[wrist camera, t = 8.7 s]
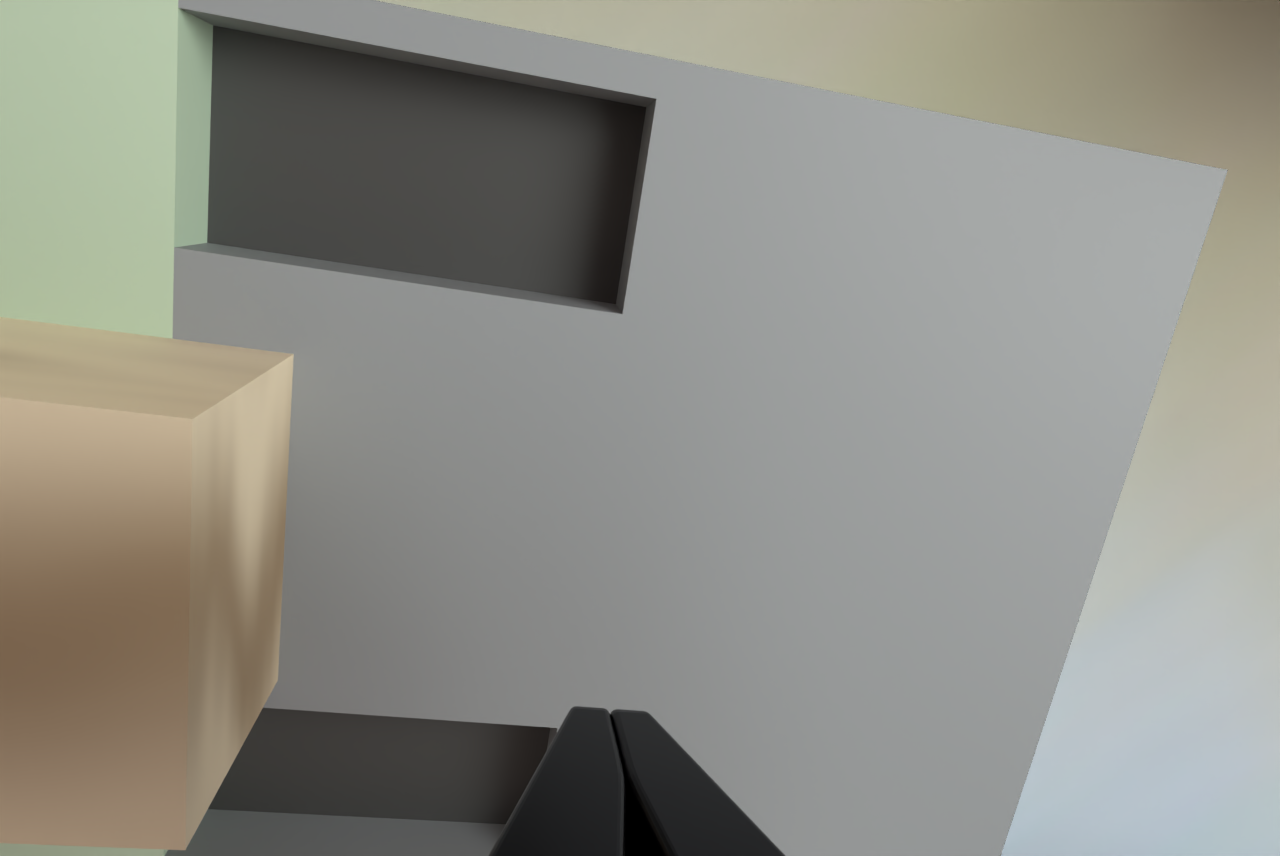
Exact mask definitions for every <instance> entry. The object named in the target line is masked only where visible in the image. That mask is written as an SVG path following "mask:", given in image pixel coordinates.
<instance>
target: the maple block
mask: <svg viewBox="0 0 1280 856" xmlns="http://www.w3.org/2000/svg"><path fill="white" fill-rule="evenodd" d="M293 357H294V354H289V353H281V352H274V351H266V350H258V349H250V348H242V347H234V346H226V345H218V344H210V343H203V342H195V341H187V340H179V339H171V338H163V337H155V336H147V335H139V334H132V333H124V332H116V331H108V330H100V329H92V328H84V327H76V326H68V325H61V324H53V323H45V322H37V321H29V320H21V319H13V318H5V317H0V843H9V844H35V845H61V846H87V847H113V848H139V849H165V850H186V848H187V846H188V844H189V843H190V841H191V839H192V837H193V835H194V833H195V832H196V830H197V828H198V826H199V824H200V822H201V821H202V819H203V817H204V815H205V813H206V811H207V809H208V808H209V806H210V804H211V802H212V800H213V798H214V797H215V795H216V793H217V791H218V789H219V787H220V786H221V784H222V782H223V780H224V778H225V776H226V775H227V773H228V771H229V769H230V767H231V765H232V764H233V762H234V760H235V758H236V756H237V754H238V753H239V751H240V749H241V747H242V745H243V743H244V741H245V740H246V738H247V736H248V734H249V732H250V730H251V729H252V727H253V725H254V723H255V721H256V719H257V718H258V716H259V714H260V712H261V710H262V708H263V707H264V705H265V703H266V701H267V699H268V697H269V696H270V694H271V692H272V690H273V688H274V686H275V684H276V683H277V681H278V666H279V646H280V625H281V604H282V584H283V563H284V543H285V522H286V501H287V481H288V460H289V440H290V419H291V399H292V378H293Z"/></svg>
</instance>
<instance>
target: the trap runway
mask: <svg viewBox="0 0 1280 856" xmlns="http://www.w3.org/2000/svg"><path fill="white" fill-rule="evenodd" d="M1227 171H1228V170H1225V169H1220V168H1215V167H1210V166H1205V165H1200V164H1195V163H1190V162H1185V161H1180V160H1175V159H1170V158H1165V157H1160V156H1155V155H1150V154H1145V153H1140V152H1135V151H1130V150H1125V149H1120V148H1115V147H1110V146H1105V145H1100V144H1095V143H1089V142H1084V141H1079V140H1074V139H1069V138H1064V137H1059V136H1054V135H1049V134H1044V133H1039V132H1034V131H1029V130H1024V129H1019V128H1014V127H1009V126H1004V125H999V124H994V123H989V122H984V121H979V120H974V119H969V118H964V117H959V116H954V115H949V114H944V113H939V112H934V111H929V110H924V109H918V108H913V107H908V106H903V105H898V104H893V103H888V102H883V101H878V100H873V99H868V98H863V97H858V96H853V95H848V94H843V93H838V92H833V91H828V90H823V89H818V88H813V87H808V86H803V85H798V84H793V83H788V82H783V81H778V80H773V79H768V78H763V77H758V76H753V75H748V74H742V73H737V72H732V71H727V70H722V69H717V68H712V67H707V66H702V65H697V64H692V63H687V62H682V61H677V60H672V59H667V58H662V57H657V56H652V55H647V54H642V53H637V52H632V51H627V50H622V49H617V48H612V47H607V46H602V45H597V44H592V43H587V42H582V41H577V40H572V39H566V38H561V37H556V36H551V35H546V34H541V33H536V32H531V31H526V30H521V29H516V28H511V27H506V26H501V25H496V24H491V23H486V22H481V21H476V20H471V19H466V18H461V17H456V16H451V15H446V14H441V13H436V12H431V11H426V10H421V9H416V8H411V7H406V6H401V5H396V4H390V3H385V2H380V1H375V0H0V317H5V318H13V319H21V320H29V321H37V322H45V323H53V324H61V325H68V326H76V327H84V328H92V329H100V330H108V331H116V332H124V333H132V334H139V335H147V336H155V337H163V338H171V339H179V340H187V341H195V342H203V343H210V344H218V345H226V346H234V347H242V348H250V349H258V350H266V351H274V352H281V353H289V354H294V357H293V378H292V399H291V419H290V440H289V460H288V481H287V501H286V522H285V543H284V563H283V584H282V604H281V625H280V646H279V666H278V681H277V683H276V684H275V686H274V688H273V690H272V692H271V694H270V696H269V697H268V699H267V701H266V703H265V705H264V707H263V708H262V710H261V712H260V714H259V716H258V718H257V719H256V721H255V723H254V725H253V727H252V729H251V730H250V732H249V734H248V736H247V738H246V740H245V741H244V743H243V745H242V747H241V749H240V751H239V753H238V754H237V756H236V758H235V760H234V762H233V764H232V765H231V767H230V769H229V771H228V773H227V775H226V776H225V778H224V780H223V782H222V784H221V786H220V787H219V789H218V791H217V793H216V795H215V797H214V798H213V800H212V802H211V804H210V806H209V808H208V809H207V811H206V813H205V815H204V817H203V819H202V821H201V822H200V824H199V826H198V828H197V830H196V832H195V833H194V835H193V837H192V839H191V841H190V843H189V844H188V846H187V848H186V850H165V849H139V848H113V847H87V846H61V845H35V844H9V843H0V856H488V855H489V853H490V852H491V850H492V848H493V846H494V844H495V843H496V841H497V839H498V837H499V835H500V834H501V832H502V830H503V828H504V827H505V825H506V823H507V821H508V819H509V818H510V816H511V814H512V812H513V810H514V809H515V807H516V805H517V803H518V801H519V800H520V798H521V796H522V794H523V793H524V791H525V789H526V787H527V785H528V784H529V782H530V780H531V778H532V776H533V775H534V773H535V771H536V769H537V767H538V766H539V764H540V762H541V760H542V759H543V757H544V755H545V753H546V751H547V750H548V748H549V746H550V744H551V742H552V741H553V739H554V737H555V735H556V733H557V732H558V730H559V728H560V726H561V725H562V723H563V721H564V719H565V717H566V716H567V714H568V712H569V710H570V709H571V708H572V707H574V706H582V707H596V708H605V709H607V710H608V711H609V713H611V712H612V711H613V710H614V709H623V710H638V711H646V712H648V713H649V714H651V715H652V716H653V717H654V718H655V719H656V721H657V722H658V723H659V724H660V725H661V726H662V727H663V728H664V729H665V730H666V731H667V732H668V733H669V734H670V735H671V736H672V737H673V738H674V739H675V740H676V741H677V742H678V744H679V745H680V746H681V747H682V748H683V749H684V750H685V751H686V752H687V753H688V754H689V755H690V756H691V757H692V758H693V759H694V760H695V761H696V762H697V763H698V764H699V766H700V767H701V768H702V769H703V770H704V771H705V772H706V773H707V774H708V775H709V776H710V777H711V778H712V779H713V780H714V781H715V782H716V783H717V784H718V785H719V786H720V787H721V789H722V790H723V791H724V792H725V793H726V794H727V795H728V796H729V797H730V798H731V799H732V800H733V801H734V802H735V803H736V804H737V805H738V806H739V807H740V808H741V809H742V811H743V812H744V813H745V814H746V815H747V816H748V817H749V818H750V819H751V820H752V821H753V822H754V823H755V824H756V825H757V826H758V827H759V828H760V829H761V830H762V831H763V832H764V834H765V835H766V836H767V837H768V838H769V839H770V840H771V841H772V842H773V843H774V844H775V845H776V846H777V847H778V848H779V849H780V850H781V851H782V852H783V853H784V854H785V856H1001V853H1002V850H1003V847H1004V844H1005V841H1006V838H1007V835H1008V832H1009V829H1010V826H1011V823H1012V820H1013V817H1014V814H1015V811H1016V808H1017V805H1018V802H1019V799H1020V796H1021V792H1022V789H1023V786H1024V783H1025V780H1026V777H1027V774H1028V771H1029V768H1030V765H1031V762H1032V759H1033V756H1034V753H1035V750H1036V747H1037V744H1038V741H1039V738H1040V735H1041V732H1042V729H1043V726H1044V723H1045V720H1046V717H1047V714H1048V711H1049V708H1050V705H1051V702H1052V699H1053V696H1054V693H1055V690H1056V687H1057V684H1058V681H1059V678H1060V675H1061V672H1062V669H1063V666H1064V663H1065V660H1066V657H1067V654H1068V651H1069V648H1070V645H1071V642H1072V639H1073V635H1074V632H1075V629H1076V626H1077V623H1078V620H1079V617H1080V614H1081V611H1082V608H1083V605H1084V602H1085V599H1086V596H1087V593H1088V590H1089V587H1090V584H1091V581H1092V578H1093V575H1094V572H1095V569H1096V566H1097V563H1098V560H1099V557H1100V554H1101V551H1102V548H1103V545H1104V542H1105V539H1106V536H1107V533H1108V530H1109V527H1110V524H1111V521H1112V518H1113V515H1114V512H1115V509H1116V506H1117V503H1118V500H1119V497H1120V494H1121V491H1122V488H1123V485H1124V482H1125V479H1126V475H1127V472H1128V469H1129V466H1130V463H1131V460H1132V457H1133V454H1134V451H1135V448H1136V445H1137V442H1138V439H1139V436H1140V433H1141V430H1142V427H1143V424H1144V421H1145V418H1146V415H1147V412H1148V409H1149V406H1150V403H1151V400H1152V397H1153V394H1154V391H1155V388H1156V385H1157V382H1158V379H1159V376H1160V373H1161V370H1162V367H1163V364H1164V361H1165V358H1166V355H1167V352H1168V349H1169V346H1170V343H1171V340H1172V337H1173V334H1174V331H1175V328H1176V325H1177V322H1178V318H1179V315H1180V312H1181V309H1182V306H1183V303H1184V300H1185V297H1186V294H1187V291H1188V288H1189V285H1190V282H1191V279H1192V276H1193V273H1194V270H1195V267H1196V264H1197V261H1198V258H1199V255H1200V252H1201V249H1202V246H1203V243H1204V240H1205V237H1206V234H1207V231H1208V228H1209V225H1210V222H1211V219H1212V216H1213V213H1214V210H1215V207H1216V204H1217V201H1218V198H1219V195H1220V192H1221V189H1222V186H1223V183H1224V180H1225V177H1226V174H1227Z"/></svg>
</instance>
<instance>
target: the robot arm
mask: <svg viewBox="0 0 1280 856" xmlns="http://www.w3.org/2000/svg"><path fill="white" fill-rule="evenodd" d="M488 856H785V854H784V853H783V852H782V851H781V850H780V849H779V848H778V847H777V846H776V845H775V844H774V843H773V842H772V841H771V840H770V839H769V838H768V837H767V836H766V835H765V834H764V832H763V831H762V830H761V829H760V828H759V827H758V826H757V825H756V824H755V823H754V822H753V821H752V820H751V819H750V818H749V817H748V816H747V815H746V814H745V813H744V812H743V811H742V809H741V808H740V807H739V806H738V805H737V804H736V803H735V802H734V801H733V800H732V799H731V798H730V797H729V796H728V795H727V794H726V793H725V792H724V791H723V790H722V789H721V787H720V786H719V785H718V784H717V783H716V782H715V781H714V780H713V779H712V778H711V777H710V776H709V775H708V774H707V773H706V772H705V771H704V770H703V769H702V768H701V767H700V766H699V764H698V763H697V762H696V761H695V760H694V759H693V758H692V757H691V756H690V755H689V754H688V753H687V752H686V751H685V750H684V749H683V748H682V747H681V746H680V745H679V744H678V742H677V741H676V740H675V739H674V738H673V737H672V736H671V735H670V734H669V733H668V732H667V731H666V730H665V729H664V728H663V727H662V726H661V725H660V724H659V723H658V722H657V721H656V719H655V718H654V717H653V716H652V715H651V714H649V713H648V712H646V711H638V710H623V709H614V710H613V711H612V712H611V713H609V711H608V710H607V709H605V708H596V707H582V706H574V707H572V708H571V709H570V710H569V712H568V714H567V716H566V717H565V719H564V721H563V723H562V725H561V726H560V728H559V730H558V732H557V733H556V735H555V737H554V739H553V741H552V742H551V744H550V746H549V748H548V750H547V751H546V753H545V755H544V757H543V759H542V760H541V762H540V764H539V766H538V767H537V769H536V771H535V773H534V775H533V776H532V778H531V780H530V782H529V784H528V785H527V787H526V789H525V791H524V793H523V794H522V796H521V798H520V800H519V801H518V803H517V805H516V807H515V809H514V810H513V812H512V814H511V816H510V818H509V819H508V821H507V823H506V825H505V827H504V828H503V830H502V832H501V834H500V835H499V837H498V839H497V841H496V843H495V844H494V846H493V848H492V850H491V852H490V853H489V855H488Z"/></svg>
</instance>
